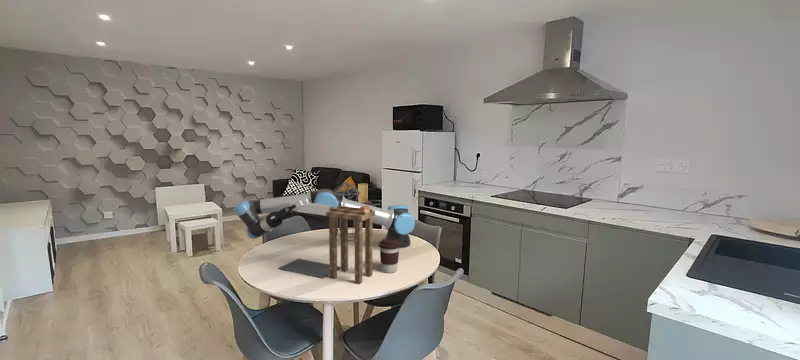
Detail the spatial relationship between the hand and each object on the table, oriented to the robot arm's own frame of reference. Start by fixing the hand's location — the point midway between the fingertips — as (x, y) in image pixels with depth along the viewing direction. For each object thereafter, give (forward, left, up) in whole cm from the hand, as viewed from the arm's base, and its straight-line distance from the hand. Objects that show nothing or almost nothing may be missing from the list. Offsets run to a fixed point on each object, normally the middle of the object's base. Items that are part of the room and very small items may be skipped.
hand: (304, 201), depth 176 cm
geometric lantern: (-13, -48, -32) cm, 60 cm away
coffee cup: (-40, +3, -32) cm, 51 cm away
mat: (-2, +1, -32) cm, 32 cm away
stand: (-23, +11, -32) cm, 41 cm away
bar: (-4, +2, -5) cm, 6 cm away
